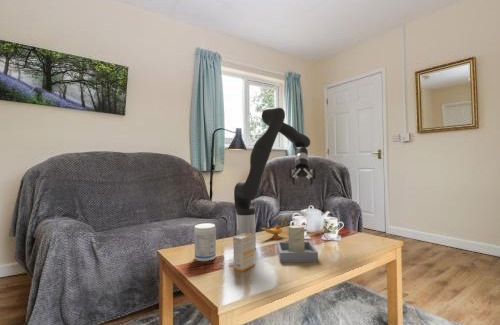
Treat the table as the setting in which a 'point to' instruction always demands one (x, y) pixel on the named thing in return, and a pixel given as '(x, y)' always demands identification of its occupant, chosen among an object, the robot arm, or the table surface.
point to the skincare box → (296, 238)
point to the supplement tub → (205, 242)
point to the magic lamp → (275, 230)
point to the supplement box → (243, 251)
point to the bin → (297, 253)
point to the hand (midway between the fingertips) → (302, 184)
